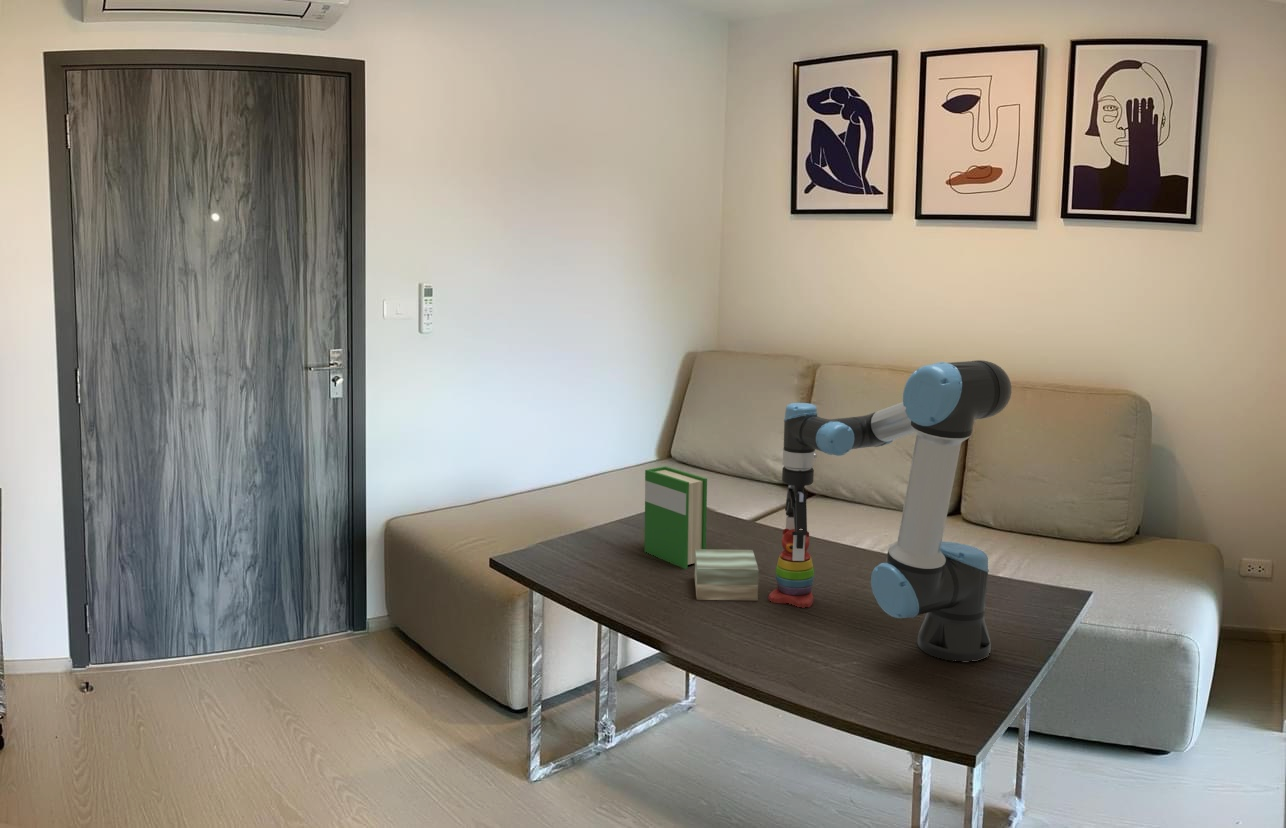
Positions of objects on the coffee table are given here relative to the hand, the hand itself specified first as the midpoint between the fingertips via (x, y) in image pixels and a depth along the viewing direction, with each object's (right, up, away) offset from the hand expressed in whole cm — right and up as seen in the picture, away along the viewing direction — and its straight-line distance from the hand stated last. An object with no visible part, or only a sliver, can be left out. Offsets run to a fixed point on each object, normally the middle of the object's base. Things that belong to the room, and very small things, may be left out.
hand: (794, 550), depth 233 cm
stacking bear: (0, -12, +2) cm, 13 cm away
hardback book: (-28, -7, +32) cm, 43 cm away
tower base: (-16, -11, +8) cm, 21 cm away
